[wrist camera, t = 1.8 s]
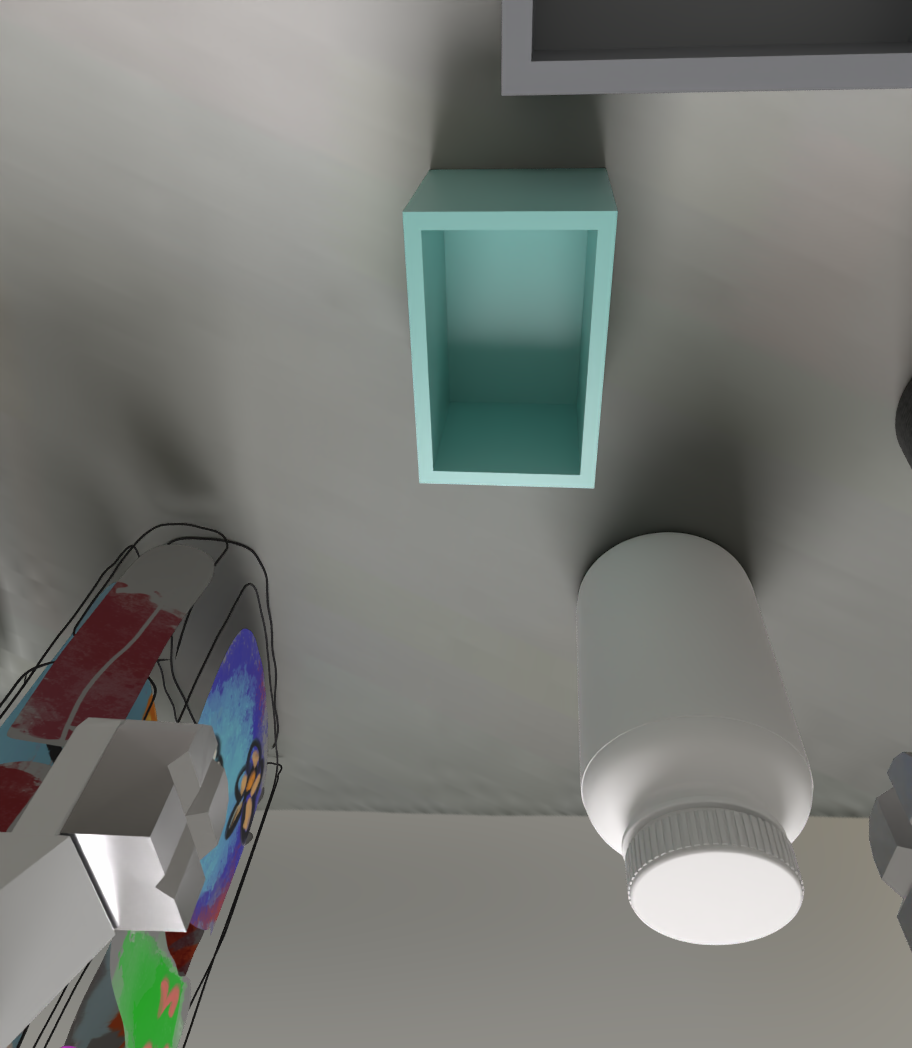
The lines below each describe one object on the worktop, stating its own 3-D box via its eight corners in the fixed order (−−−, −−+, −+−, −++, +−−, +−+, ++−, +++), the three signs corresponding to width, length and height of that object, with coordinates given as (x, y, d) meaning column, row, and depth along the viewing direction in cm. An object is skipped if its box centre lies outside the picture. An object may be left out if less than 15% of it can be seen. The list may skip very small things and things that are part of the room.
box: (101, 350, 32) (-618, 943, 13) (248, 364, 32) (-250, 996, 12) (184, 747, 47) (-90, 1318, 27) (286, 760, 47) (85, 1347, 27)
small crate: (605, 168, 27) (617, 211, 22) (587, 409, 32) (594, 488, 27) (429, 169, 27) (402, 211, 22) (439, 406, 32) (419, 483, 27)
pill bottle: (720, 500, 34) (816, 802, 21) (770, 631, 37) (876, 951, 25) (547, 558, 36) (544, 856, 24) (611, 675, 40) (636, 984, 28)
